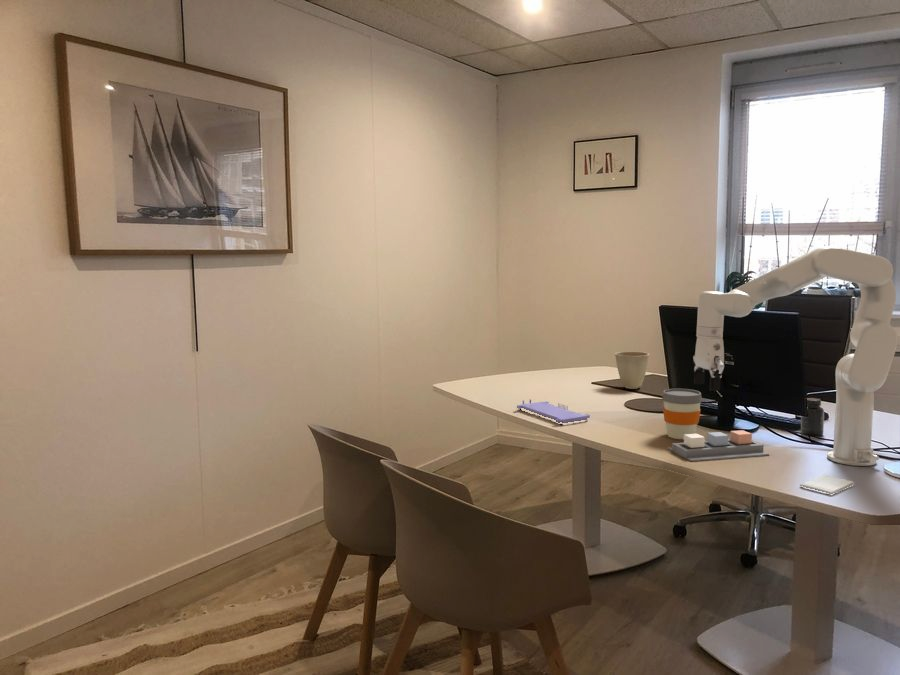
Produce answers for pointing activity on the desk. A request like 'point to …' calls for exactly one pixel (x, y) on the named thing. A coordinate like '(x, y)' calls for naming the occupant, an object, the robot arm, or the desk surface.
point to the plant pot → (632, 367)
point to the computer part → (553, 412)
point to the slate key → (717, 438)
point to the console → (719, 451)
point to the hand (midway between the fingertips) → (706, 387)
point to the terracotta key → (741, 437)
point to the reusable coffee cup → (681, 411)
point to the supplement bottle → (813, 418)
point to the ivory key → (694, 440)
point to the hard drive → (827, 484)
